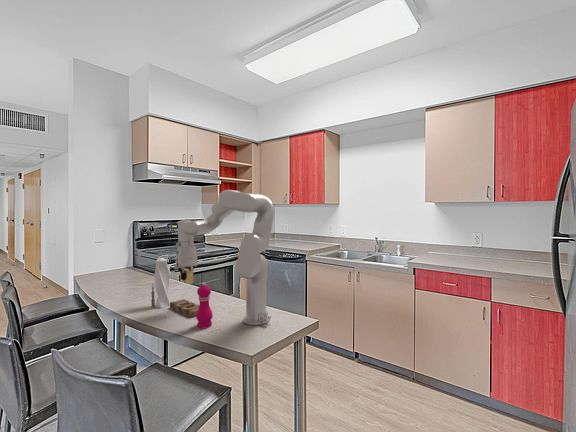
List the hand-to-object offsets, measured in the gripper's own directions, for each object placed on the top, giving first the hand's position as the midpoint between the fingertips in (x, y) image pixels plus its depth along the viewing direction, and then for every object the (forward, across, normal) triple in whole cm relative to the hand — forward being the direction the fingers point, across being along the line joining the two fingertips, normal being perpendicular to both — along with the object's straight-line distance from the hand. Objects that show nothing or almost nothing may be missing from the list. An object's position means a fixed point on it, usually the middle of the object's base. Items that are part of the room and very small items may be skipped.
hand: (186, 279), depth 160 cm
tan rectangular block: (+2, 0, 0) cm, 2 cm away
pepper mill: (+17, -5, -24) cm, 30 cm away
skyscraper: (+17, -5, +18) cm, 25 cm away
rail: (+17, 0, 0) cm, 17 cm away
